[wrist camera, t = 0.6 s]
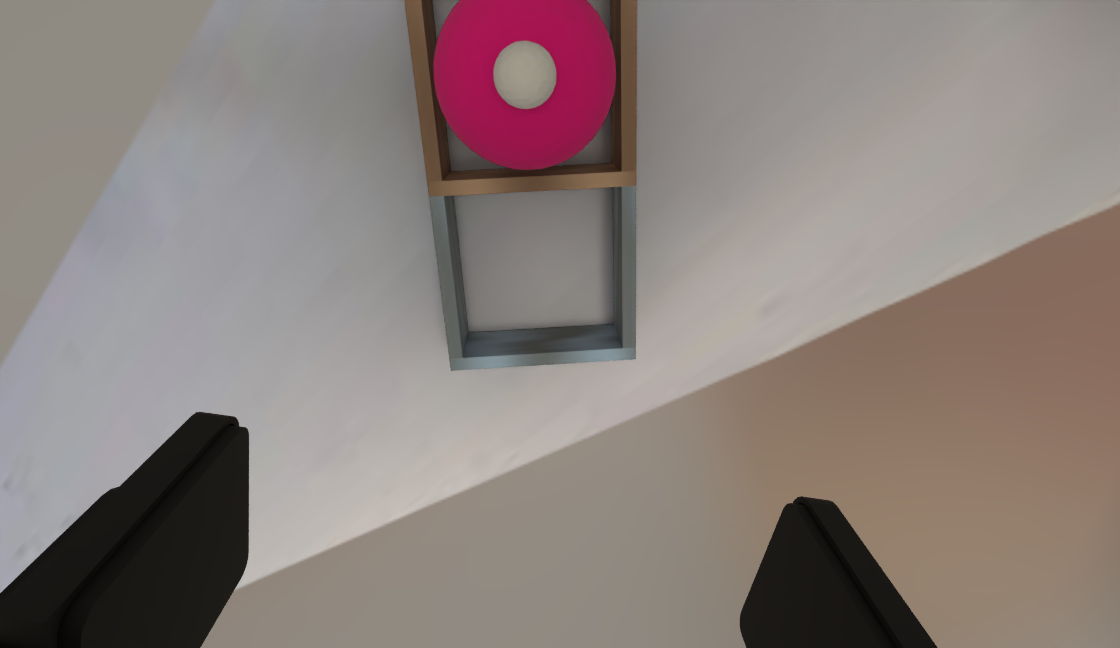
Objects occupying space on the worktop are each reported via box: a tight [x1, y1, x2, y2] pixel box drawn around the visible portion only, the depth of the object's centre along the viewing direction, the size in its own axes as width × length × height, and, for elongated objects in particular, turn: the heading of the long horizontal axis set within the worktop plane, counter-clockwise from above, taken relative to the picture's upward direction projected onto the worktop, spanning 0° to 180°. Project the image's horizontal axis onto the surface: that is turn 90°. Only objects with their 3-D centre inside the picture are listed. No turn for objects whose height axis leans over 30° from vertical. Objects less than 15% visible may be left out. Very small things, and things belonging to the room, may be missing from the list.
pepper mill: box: [433, 0, 616, 170], centre depth 25 cm, size 7×7×20 cm
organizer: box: [405, 0, 637, 371], centre depth 35 cm, size 11×22×4 cm, turn 3°
